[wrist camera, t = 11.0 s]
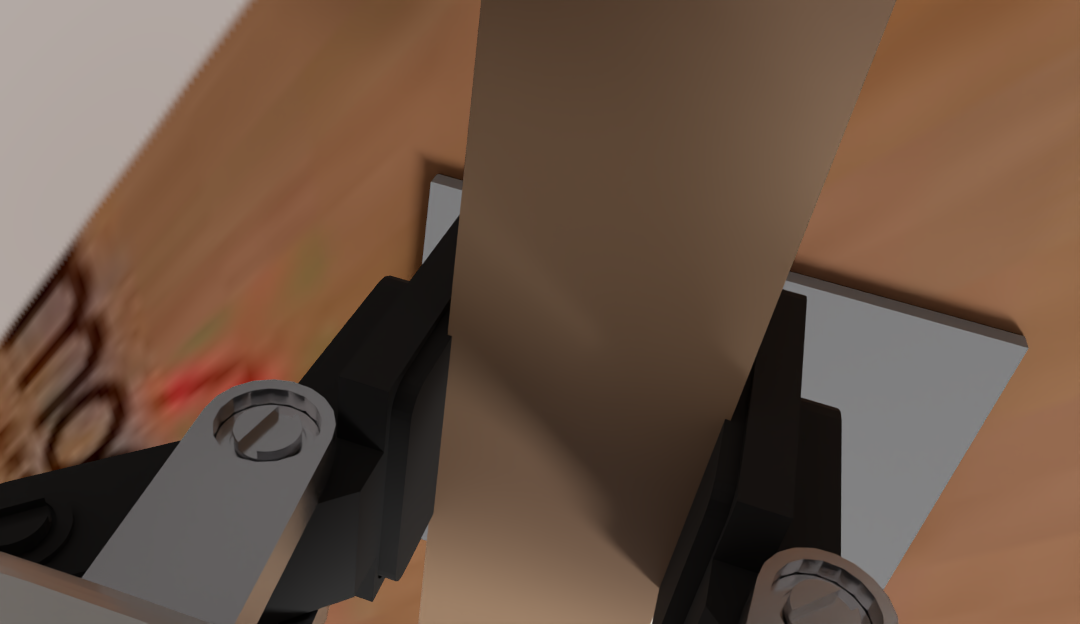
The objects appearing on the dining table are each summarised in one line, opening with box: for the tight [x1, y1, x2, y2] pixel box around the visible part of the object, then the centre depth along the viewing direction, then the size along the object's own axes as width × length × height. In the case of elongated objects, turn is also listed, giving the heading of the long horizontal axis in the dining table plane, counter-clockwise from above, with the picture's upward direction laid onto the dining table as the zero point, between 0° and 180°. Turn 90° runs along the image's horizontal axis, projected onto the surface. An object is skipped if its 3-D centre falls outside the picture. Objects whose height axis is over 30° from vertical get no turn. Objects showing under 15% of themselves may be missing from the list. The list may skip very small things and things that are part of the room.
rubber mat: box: [421, 174, 1028, 589], centre depth 32 cm, size 16×18×1 cm
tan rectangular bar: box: [418, 0, 896, 624], centre depth 12 cm, size 18×3×4 cm, turn 171°
